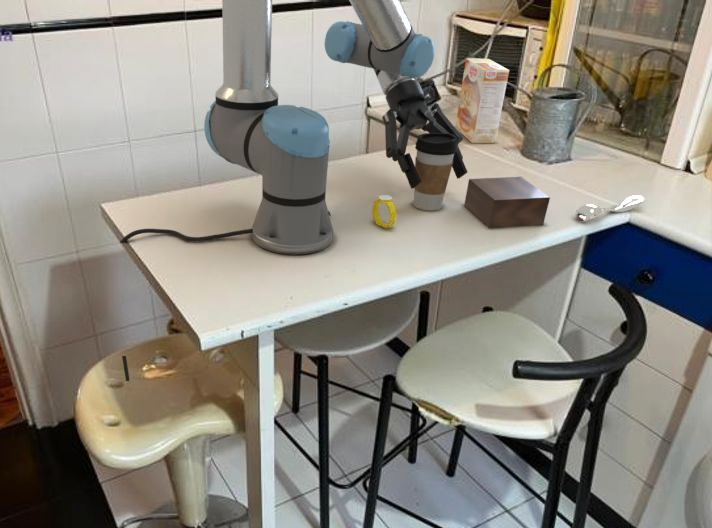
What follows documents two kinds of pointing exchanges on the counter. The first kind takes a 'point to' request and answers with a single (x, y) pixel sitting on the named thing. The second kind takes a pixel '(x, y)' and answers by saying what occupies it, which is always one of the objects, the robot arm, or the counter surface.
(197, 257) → the counter surface
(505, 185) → the walnut block
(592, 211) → the silver scoop
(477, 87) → the coffeecake box
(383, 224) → the watch
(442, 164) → the coffee cup
